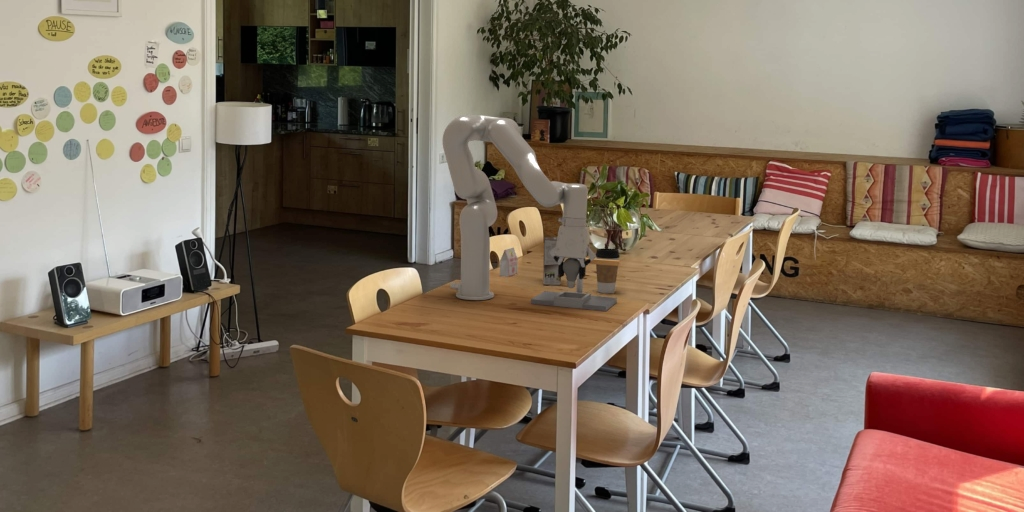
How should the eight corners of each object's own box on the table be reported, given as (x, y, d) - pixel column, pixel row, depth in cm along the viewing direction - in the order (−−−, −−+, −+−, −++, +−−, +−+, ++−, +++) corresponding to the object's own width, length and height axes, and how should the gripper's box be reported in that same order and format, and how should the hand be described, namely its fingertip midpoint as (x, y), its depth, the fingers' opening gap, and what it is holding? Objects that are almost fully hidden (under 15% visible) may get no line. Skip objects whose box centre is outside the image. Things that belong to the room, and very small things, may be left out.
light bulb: (564, 290, 304) (565, 259, 302) (559, 286, 310) (561, 255, 308) (582, 289, 305) (583, 259, 303) (577, 285, 311) (579, 256, 309)
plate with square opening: (530, 303, 308) (531, 266, 306) (544, 295, 321) (545, 259, 319) (605, 311, 299) (607, 273, 297) (616, 302, 312) (618, 265, 310)
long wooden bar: (618, 266, 308) (618, 261, 308) (575, 262, 313) (575, 258, 312) (620, 264, 311) (620, 260, 310) (577, 261, 315) (577, 257, 315)
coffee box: (561, 285, 338) (562, 240, 335) (543, 284, 338) (544, 240, 336) (560, 280, 347) (561, 236, 344) (542, 279, 347) (544, 236, 344)
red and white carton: (499, 276, 353) (500, 249, 351) (508, 273, 359) (509, 247, 357) (508, 277, 351) (508, 250, 349) (517, 274, 357) (517, 248, 355)
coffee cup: (600, 294, 323) (602, 251, 321) (589, 289, 331) (591, 247, 329) (622, 293, 327) (624, 250, 324) (611, 288, 334) (612, 246, 332)
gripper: (545, 221, 303) (542, 276, 306) (597, 226, 297) (594, 282, 301) (552, 218, 310) (549, 272, 313) (603, 223, 304) (600, 278, 308)
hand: (571, 277), depth 307 cm, fingers closed on light bulb, 6 cm apart
